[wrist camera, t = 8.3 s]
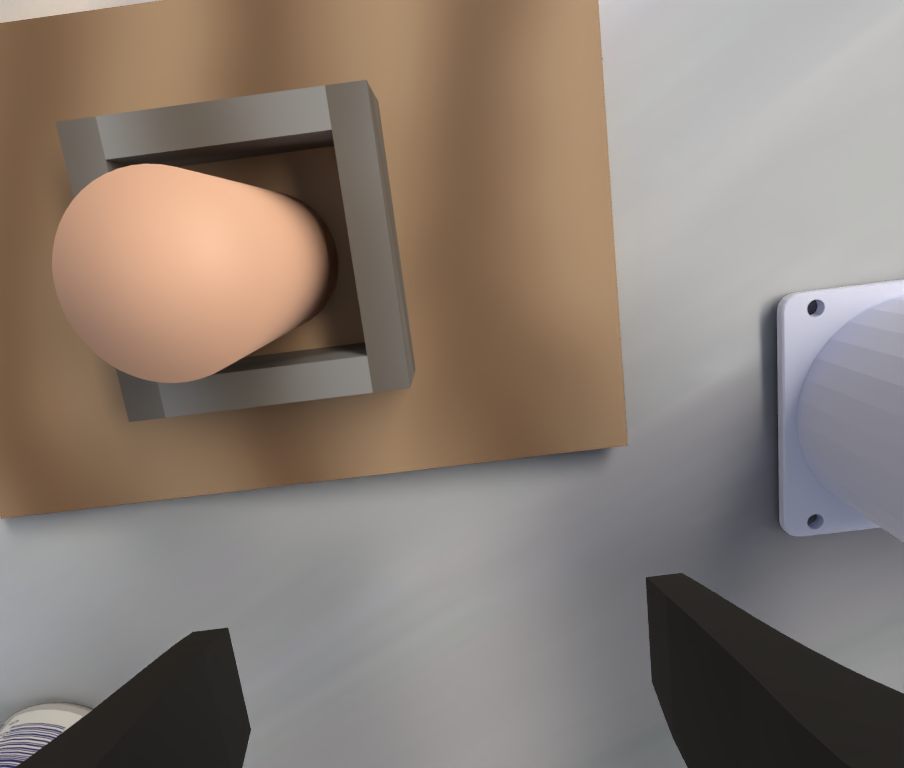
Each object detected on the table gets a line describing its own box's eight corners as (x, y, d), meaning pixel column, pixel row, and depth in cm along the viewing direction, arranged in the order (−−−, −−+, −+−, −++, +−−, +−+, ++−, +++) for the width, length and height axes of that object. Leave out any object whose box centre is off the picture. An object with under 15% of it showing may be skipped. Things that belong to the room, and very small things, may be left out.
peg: (323, 179, 18) (241, 145, 11) (350, 319, 19) (289, 366, 12) (185, 203, 18) (24, 183, 12) (219, 340, 19) (87, 397, 12)
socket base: (586, -44, 18) (618, -111, 14) (619, 435, 21) (652, 474, 17) (-111, 53, 18) (-240, 11, 15) (22, 505, 21) (-60, 556, 18)
